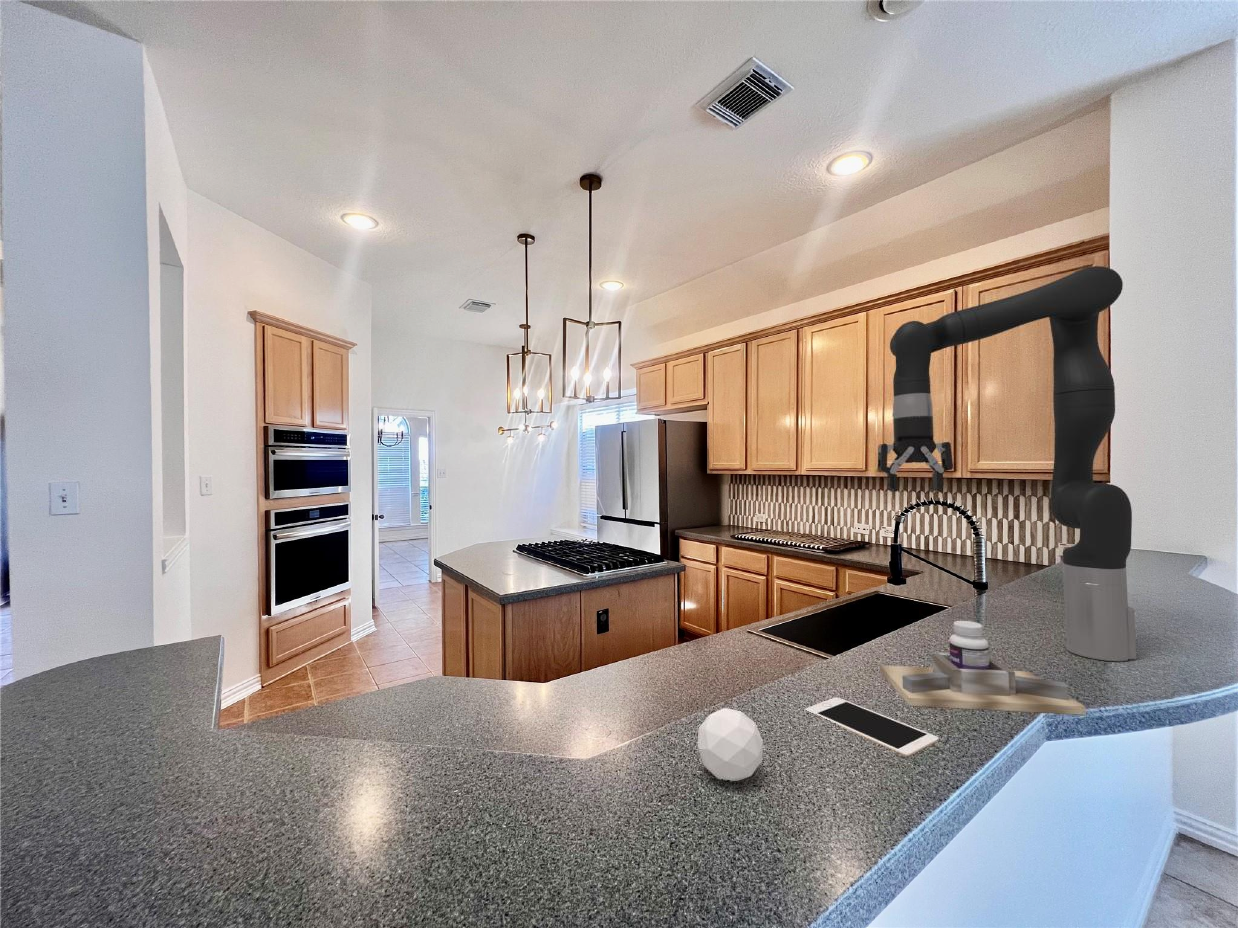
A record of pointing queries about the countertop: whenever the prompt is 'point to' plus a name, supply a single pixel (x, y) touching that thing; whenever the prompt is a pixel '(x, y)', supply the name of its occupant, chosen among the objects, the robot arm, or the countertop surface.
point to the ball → (730, 745)
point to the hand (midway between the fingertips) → (915, 491)
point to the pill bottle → (969, 646)
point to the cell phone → (874, 726)
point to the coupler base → (979, 688)
